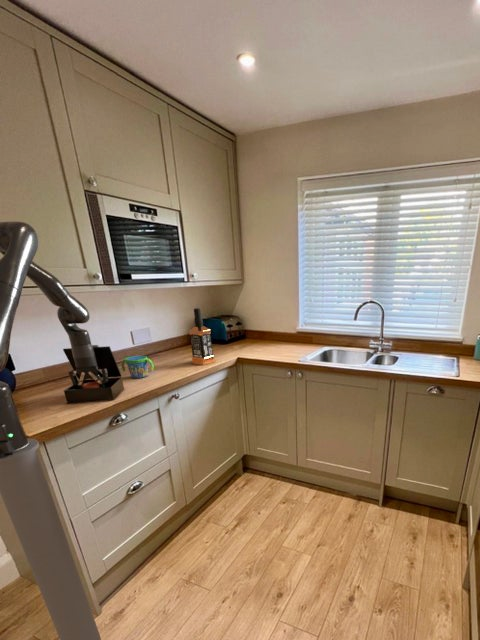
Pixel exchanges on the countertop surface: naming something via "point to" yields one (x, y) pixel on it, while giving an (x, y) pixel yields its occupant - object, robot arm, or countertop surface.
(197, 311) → the whiskey bottle
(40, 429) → the countertop surface
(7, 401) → the robot arm
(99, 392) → the black box base
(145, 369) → the snack cup
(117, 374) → the lid
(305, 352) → the countertop surface
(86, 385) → the orange clay pot
